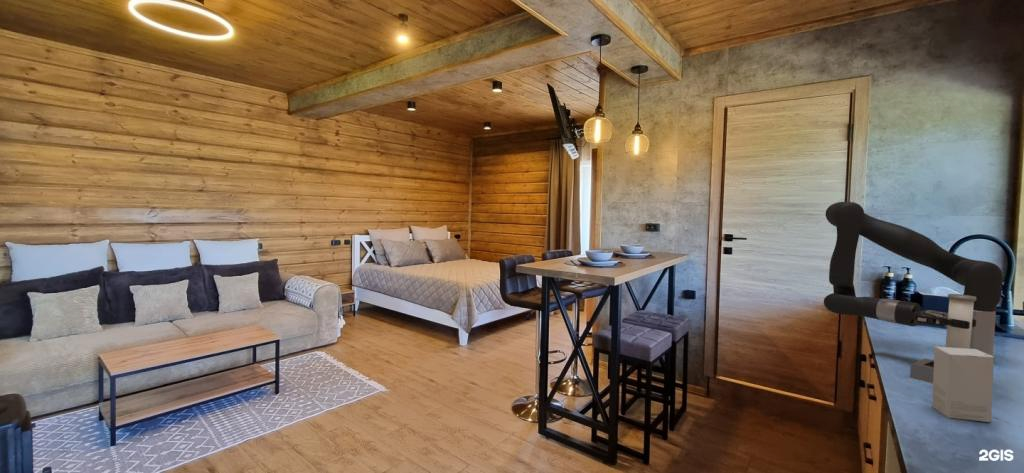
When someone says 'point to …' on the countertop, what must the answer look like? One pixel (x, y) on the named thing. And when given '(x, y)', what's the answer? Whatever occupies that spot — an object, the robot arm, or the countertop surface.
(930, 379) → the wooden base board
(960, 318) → the plug
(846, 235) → the robot arm
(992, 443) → the countertop surface
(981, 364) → the skincare box
